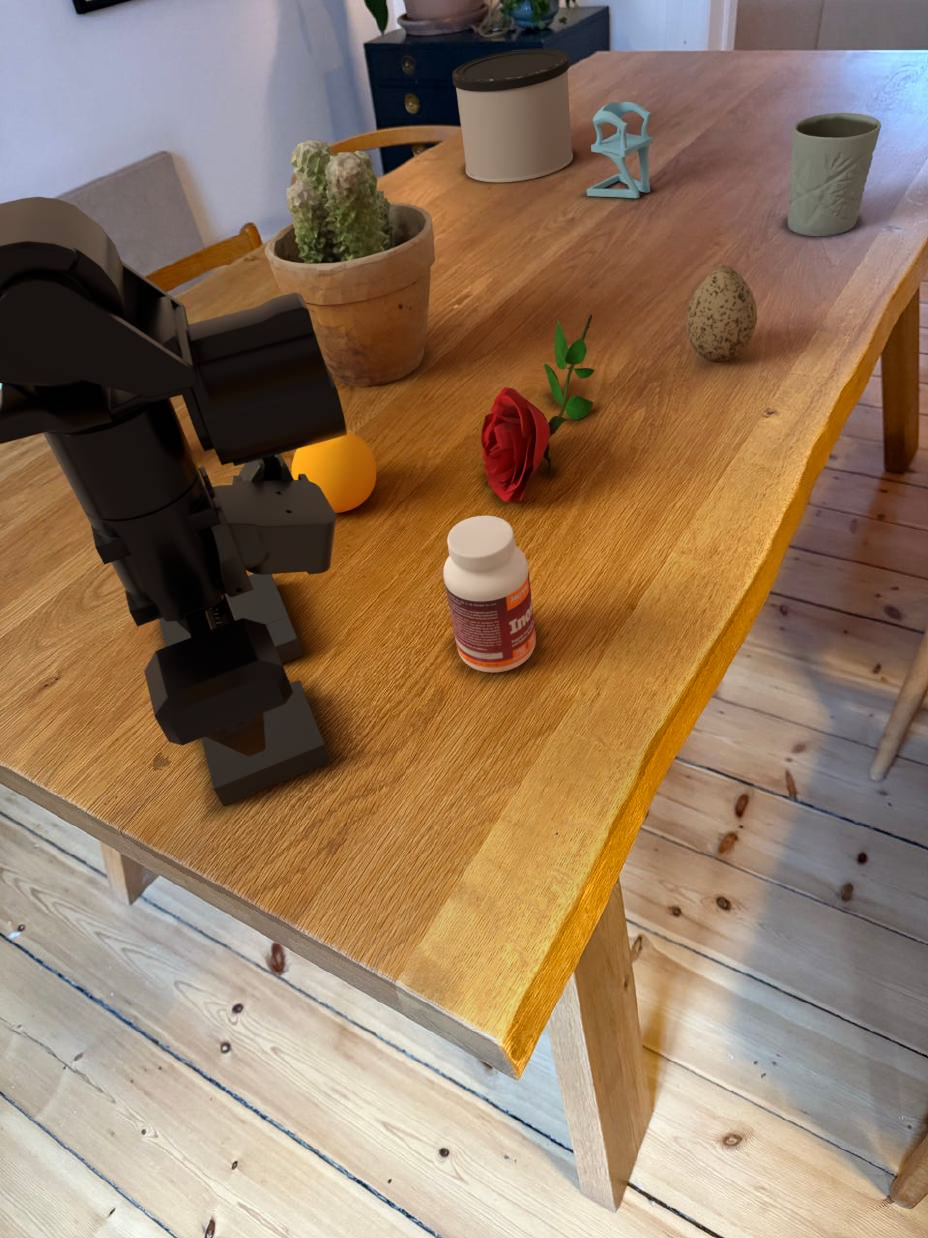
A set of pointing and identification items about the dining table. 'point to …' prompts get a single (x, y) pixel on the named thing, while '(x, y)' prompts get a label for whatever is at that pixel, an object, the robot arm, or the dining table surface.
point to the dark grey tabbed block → (269, 751)
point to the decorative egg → (721, 315)
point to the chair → (622, 150)
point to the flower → (530, 424)
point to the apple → (338, 470)
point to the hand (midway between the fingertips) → (238, 698)
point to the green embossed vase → (829, 171)
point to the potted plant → (355, 266)
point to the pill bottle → (489, 595)
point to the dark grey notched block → (253, 617)
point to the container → (515, 114)
